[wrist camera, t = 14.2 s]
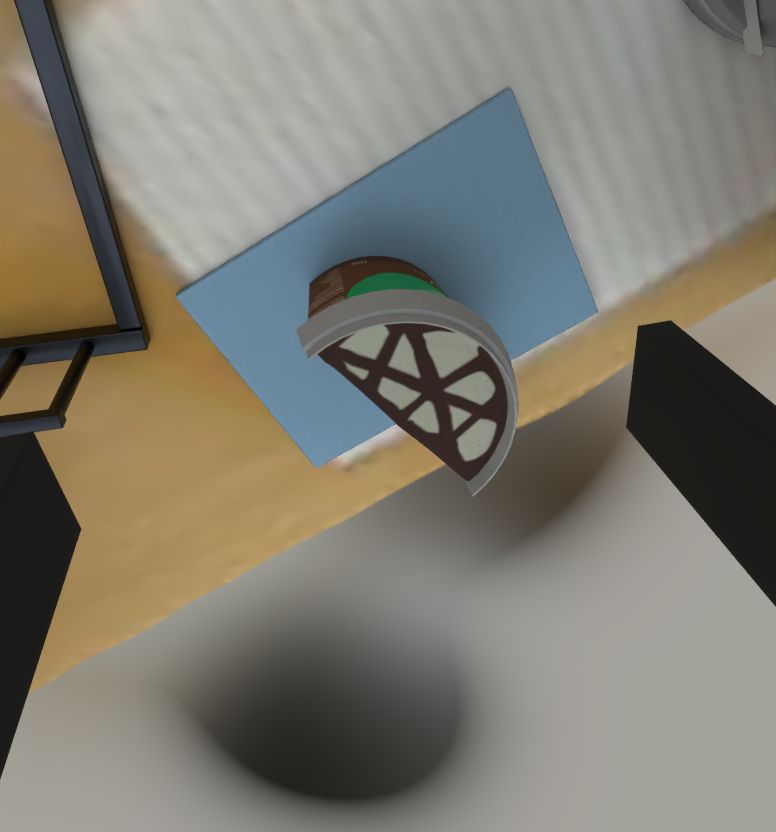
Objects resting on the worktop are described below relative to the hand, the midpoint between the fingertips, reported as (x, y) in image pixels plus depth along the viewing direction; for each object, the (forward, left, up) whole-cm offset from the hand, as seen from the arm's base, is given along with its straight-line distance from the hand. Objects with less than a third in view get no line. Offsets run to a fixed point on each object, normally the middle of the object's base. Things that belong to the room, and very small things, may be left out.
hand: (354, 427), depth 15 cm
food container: (-5, +7, -22) cm, 24 cm away
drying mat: (-5, +7, -23) cm, 24 cm away
